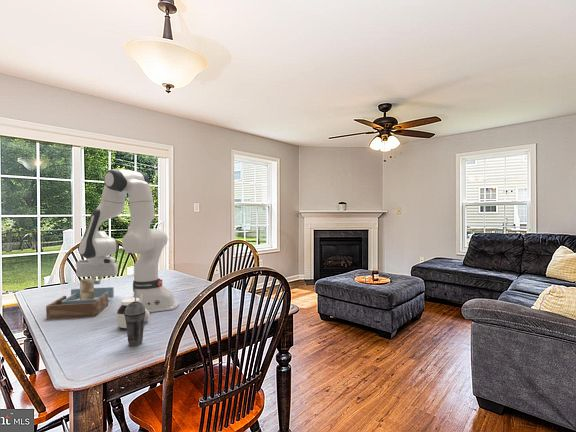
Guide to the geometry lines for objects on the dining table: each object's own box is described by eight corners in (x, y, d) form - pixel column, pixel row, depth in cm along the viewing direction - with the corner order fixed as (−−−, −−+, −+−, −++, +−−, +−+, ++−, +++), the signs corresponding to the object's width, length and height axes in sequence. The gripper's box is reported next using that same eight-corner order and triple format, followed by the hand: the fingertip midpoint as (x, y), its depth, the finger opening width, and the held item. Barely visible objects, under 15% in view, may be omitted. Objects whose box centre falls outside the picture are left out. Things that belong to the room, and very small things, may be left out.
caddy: (63, 307, 159) (63, 295, 159) (107, 305, 164) (107, 293, 164) (46, 319, 143) (46, 306, 143) (95, 316, 147) (95, 303, 147)
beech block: (91, 299, 166) (91, 278, 166) (93, 301, 162) (93, 279, 162) (80, 301, 163) (79, 279, 162) (82, 303, 159) (82, 281, 159)
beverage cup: (122, 349, 113) (121, 293, 113) (126, 341, 120) (126, 288, 120) (144, 346, 115) (144, 291, 115) (147, 338, 122) (147, 287, 122)
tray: (73, 298, 170) (73, 288, 170) (114, 296, 175) (114, 286, 175) (56, 309, 152) (56, 297, 152) (103, 306, 157) (102, 295, 156)
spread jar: (115, 332, 129) (115, 303, 129) (121, 322, 140) (121, 295, 139) (147, 328, 132) (147, 301, 132) (151, 319, 143) (150, 293, 143)
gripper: (73, 260, 172) (73, 286, 173) (115, 260, 177) (115, 285, 177) (78, 258, 178) (78, 283, 179) (118, 258, 183) (118, 282, 183)
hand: (97, 284), depth 178 cm, fingers closed
